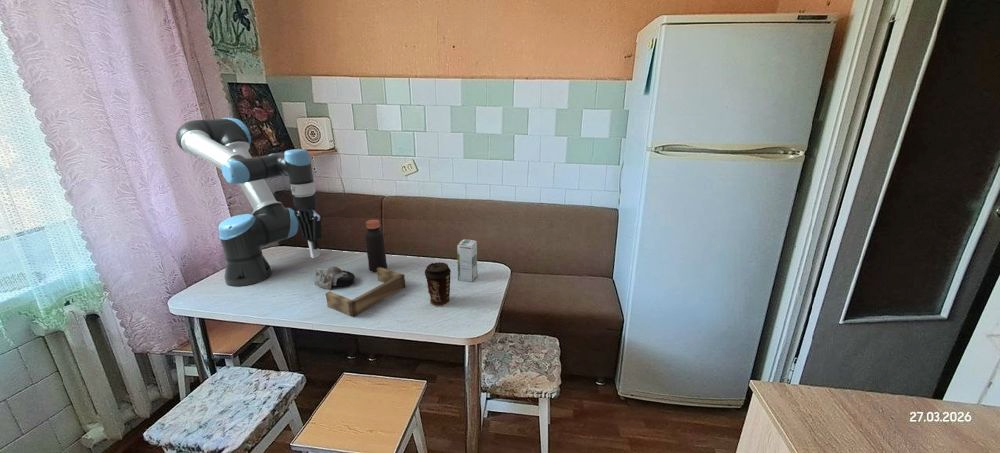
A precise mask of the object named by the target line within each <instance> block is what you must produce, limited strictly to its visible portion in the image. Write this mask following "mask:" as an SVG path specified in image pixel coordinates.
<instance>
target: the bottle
mask: <svg viewBox="0 0 1000 453" xmlns="http://www.w3.org/2000/svg"><path fill="white" fill-rule="evenodd" d="M365 226H366V229H367V231H366V233H365V234H364V237H365V238H364V239H365V247H366V248H365V249H366V255H367V262H368V270H369V271H370V273H375V274H377V268H379V267H381V268H384V269H387V268H388V262H387V256H386V247H385V246H386V245H385V244H386V243H385V237H384V232H383V231H382V230H381V229H380V228H381V223H380V220H379V219H369V220H366V221H365Z"/></svg>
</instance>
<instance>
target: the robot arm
mask: <svg viewBox="0 0 1000 453" xmlns="http://www.w3.org/2000/svg"><path fill="white" fill-rule="evenodd" d="M250 134H251V133H250V130H249V128H248V127H247V125H246V124H245V123H244V122H243V121H242V120H240V119H237V118H235V117H234V118H233V117H231V118H230V117H223V118H213V119H196V120H194V119H193V120H190V121H187V122H185V123H183V124H181V125H180V127H179V128H178V129H177V131H176V134H175V141H176V144H177V146H178V147H179V148H180V150H182V151H183V152H184V153H187V155H190V156H193V157H199V158H201V159H202V160H204V161H206V162H208V163H209V164H210V165H212V166H214V167H216V168H217V169H219V170H221V174H222V175H223V179H224V180H225V181H226V182H227V184H228V183H229V184H230V185H238V186H239V187H240V188H241V191H242V192H243V194H244V196H245V197H246V199H247V201H248V202H249V205H250V206H251V208H252V209H253V211H252V212H251V213H243V214H237V215H233V216H230V217H228V218H226V219H224V220H223V221H222V222H220V224H219V225H218V234H219V236H218V237H219V240H220V242H221V246H222V249H223V255H224V258H225V261H226V263H225V271H224V276H223V277H224V281H225V284H226V285H228V286H232V287H242V286H249V285H253V284H256V283H259V282H262V281H264V280H266V279H268V278H270V276H271V275H272V273H273V271H272V266H271V264H269V262H268V261H267V259H266V258H265V256H264V254H263V250H262V247H265V246H267V245H271V244H274V243H277V242H281V241H284V240H287V239H289V238H292V237H294V236H295V235H296V234H297V233H298V230H299V229H300V231H301V232H300V233H301V235H302V238H304V239H306V241H307V244H308V248H309V254H310V258H312V259H315V258H318V257H320V256H321V255H320V254H321V253H320V248H319V240H321V239H322V219H323V216H322V214H319V213H317V212H318V211H317V209H316V205H318V198H317V194H316V191H317V190H316V185H315V182H314V175H313V168H312V160H311V158H310V153H309V151H308V150H307V149H305V148H304V149H303V148H298V149H288V150H285V151H284V153H281V152H276V153H270V154H268V155H264V156H257V157H252V155H251V154H250V151H249V150H250V149H251V146H250V145H251V143H252V136H251V135H250ZM277 177H288V182H289V185H290V191H291V195H292V200H293V206H294V207H295V208H297V211H295V210H293V209H292V208H291V207H285V206H284V203H282V202H281V201H277V199H276V198H275V196H274V194H273V193H272V191H271V189H270V187H269V186H268V184H267V182H266V179H272V178H277Z"/></svg>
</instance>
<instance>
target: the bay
mask: <svg viewBox="0 0 1000 453" xmlns="http://www.w3.org/2000/svg"><path fill="white" fill-rule="evenodd" d="M376 275H377V281H378V282H380V283H381V284H379V285H378V286H376V287H373V288H371V289H370V290H368V291H366V292H364V293H362V294H361V295H359V296H357V297H355V298H352V299H351V298H348V297H345V296H344V295H343V296H342V295H341V294H337V293H335V292H333V291H331V290H328V291H326V292H325V299H326V305H327V307H328V308H330V309H333V310H335V311H337V312H339V313H342V314H344V315H347V316H349V317H352V318H354V317H356V316H358V315H360V314H362V313H363V312H365V311H367V310H369V309H371V308H372V307H374V306H375V305H377V304H379V303H381V302H383V301H385V300H386V299H388V298H389V297H391V296H393V295H395V294H397V293H398V292H400V291H401V290H403V289H405V288H406V287H407V286H406V277H405V274H404V273H400V272H397V271H393V270H390V269H384V268H381V267H379V268H377V273H376Z"/></svg>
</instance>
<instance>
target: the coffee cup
mask: <svg viewBox="0 0 1000 453" xmlns="http://www.w3.org/2000/svg"><path fill="white" fill-rule="evenodd" d="M424 275H425V279H426V283H427V284H426V285H427V286H426V287H427V291H428V294H429V295H430V300H429V301H430V302H429V303H430V305H431V306H434V307H440V308H441V307H444V306H446V305H448V303H449V302H450V296H451V268H450V267H449V264H448V263H445V262H442V261H441V262H431V263H428V265H427V266H426V268H425V270H424Z"/></svg>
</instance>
